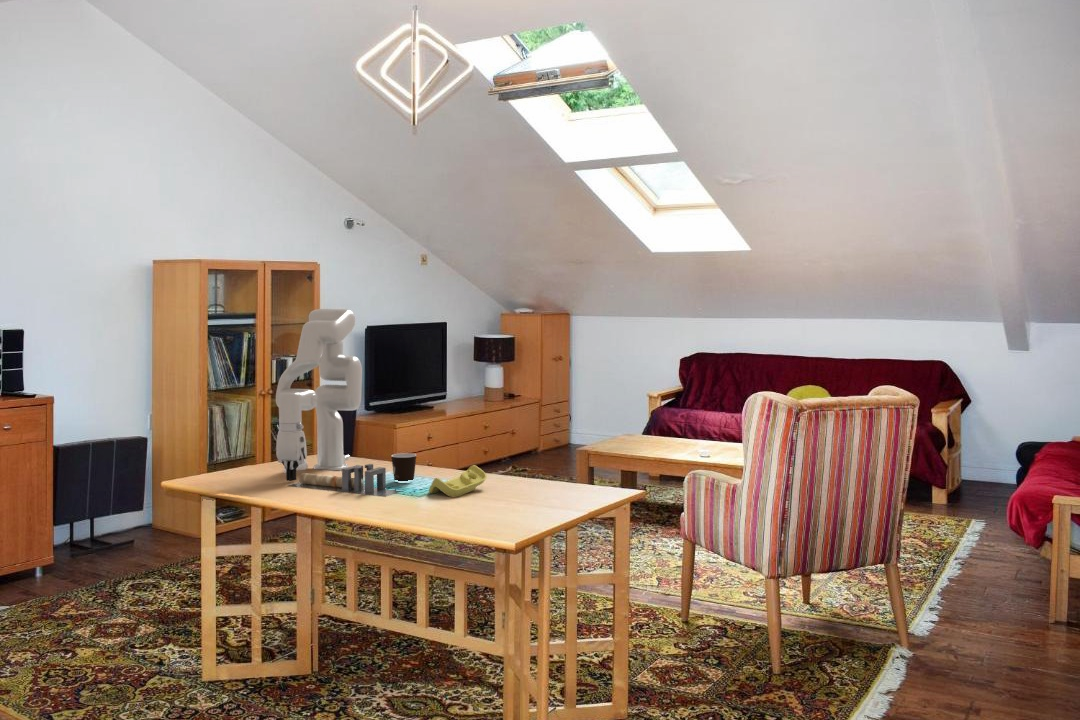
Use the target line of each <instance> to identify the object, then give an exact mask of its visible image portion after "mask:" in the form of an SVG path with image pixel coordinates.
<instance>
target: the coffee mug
mask: <svg viewBox="0 0 1080 720" xmlns="http://www.w3.org/2000/svg"><path fill="white" fill-rule="evenodd" d="M390 459H391V464H392V471H393V481H394V480H398V481H408V480H413V479H414V480H415V471H416V463H417V462H416V461H417V454H416V453H411V452H410V453H404V452H402V453H394V454H392V455H391V458H390Z"/></svg>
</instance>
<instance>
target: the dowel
mask: <svg viewBox="0 0 1080 720" xmlns="http://www.w3.org/2000/svg"><path fill="white" fill-rule="evenodd" d="M298 480H299V481H298V482H299V483H302V484H311V485H321V486H330V487H339V488H342V476H337V475H325V474H317V473H307V472H302V473H300V474H299V478H298ZM363 486H364V479H363V480H362V479H361V489H362V487H363ZM351 489H354V477H351Z"/></svg>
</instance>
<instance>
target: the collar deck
mask: <svg viewBox="0 0 1080 720" xmlns="http://www.w3.org/2000/svg"><path fill="white" fill-rule="evenodd" d="M364 469H366V470H364ZM386 471H387V470H386V467H383V466H379V467H374V463H368V464H364V465H360V464H356V465H352V466H348V467H347V468H344V469H342V470H341V477H342V488H339V487H330V486H321V485H311V484H302V483H300V482H296V483H293V484H288V485H287V487H290V488H298V489H299V488H300V489H308V490H309V489H310V490H318V491H319V490H320V491H327V492H329V491H330V492H336V493H345V494H355V495H364V496H373V497H383V498H384V497H385V498H386V497H390V496H392V495H395V494H399V493H401V492H403V491H396V490H386V489H385V488H387V484H386V478H387V477H386V473H387V472H386ZM353 473H354V474H353ZM352 474H353V478H354V489H351V478H352ZM374 476H376V487H377V488H374V487H375V482H374V479H375V478H374ZM361 479H362V480H363V481H364V485H363V487H362V489H361Z"/></svg>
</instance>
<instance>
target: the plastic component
mask: <svg viewBox="0 0 1080 720" xmlns="http://www.w3.org/2000/svg"><path fill="white" fill-rule="evenodd" d="M487 477H488V476H487V473H486V471H484V470H482V468H480V467H478V466H477V465H474V464H473V465H471V466H469V467H468V468H467V470H465V471H463V472H462V473H461V474H460V476H458V477H454V478H452V479H448V480H446V481H444V480H441V478H439V477H436V478H434V479H433V480H432V483H431V485H430V487H429V489H428V492H429V493H430V494H437V493H439V492H442V493H444V494H445V495H446V496H448V497H450V498H456V497H461V496H462V495H465V494H467V493H470V492H473V491H475V490H476V487H479V486H480V485H482V484H483V483H484V482H485V481H486V479H487Z"/></svg>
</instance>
